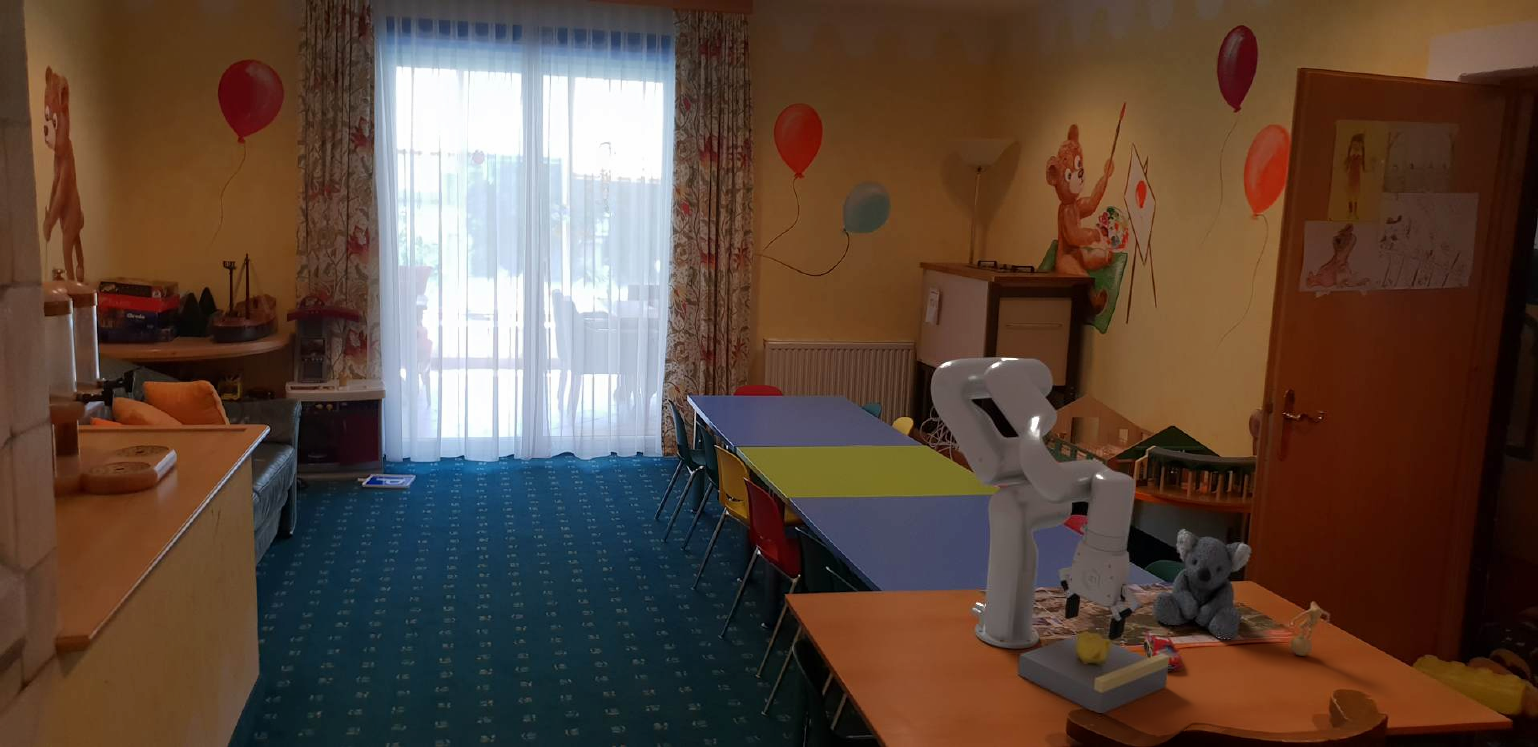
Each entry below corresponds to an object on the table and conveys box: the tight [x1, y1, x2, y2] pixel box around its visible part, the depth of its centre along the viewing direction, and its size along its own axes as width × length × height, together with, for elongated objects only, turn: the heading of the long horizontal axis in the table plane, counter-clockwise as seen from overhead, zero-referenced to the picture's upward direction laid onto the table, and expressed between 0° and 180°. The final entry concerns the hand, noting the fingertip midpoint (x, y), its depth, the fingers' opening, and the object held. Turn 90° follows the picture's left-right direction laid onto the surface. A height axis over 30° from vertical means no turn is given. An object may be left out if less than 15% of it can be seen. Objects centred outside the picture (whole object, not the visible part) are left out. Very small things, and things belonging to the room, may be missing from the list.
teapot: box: [1076, 630, 1112, 665], centre depth 200 cm, size 8×6×5 cm
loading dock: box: [1017, 634, 1169, 714], centre depth 201 cm, size 18×20×6 cm
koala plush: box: [1152, 528, 1252, 640], centre depth 232 cm, size 17×18×20 cm
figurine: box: [1289, 601, 1331, 657], centre depth 216 cm, size 8×6×12 cm
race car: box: [1143, 632, 1182, 672], centre depth 213 cm, size 13×5×4 cm, turn 171°
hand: (1092, 627), depth 200 cm, fingers open, 9 cm apart
